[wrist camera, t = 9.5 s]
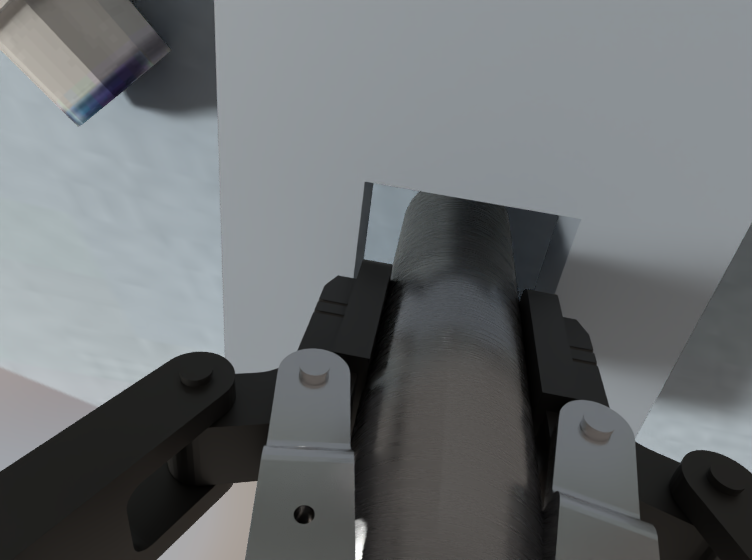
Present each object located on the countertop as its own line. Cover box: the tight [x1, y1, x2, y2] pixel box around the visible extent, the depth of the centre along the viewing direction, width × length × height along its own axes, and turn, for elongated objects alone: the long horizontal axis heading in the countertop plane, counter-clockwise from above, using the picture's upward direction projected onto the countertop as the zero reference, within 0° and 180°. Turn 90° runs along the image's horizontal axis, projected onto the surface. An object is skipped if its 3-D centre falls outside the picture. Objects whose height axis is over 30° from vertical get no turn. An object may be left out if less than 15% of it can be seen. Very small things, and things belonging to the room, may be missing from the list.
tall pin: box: [350, 191, 543, 560], centre depth 12 cm, size 3×3×12 cm
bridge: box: [214, 0, 752, 438], centre depth 17 cm, size 12×16×7 cm
